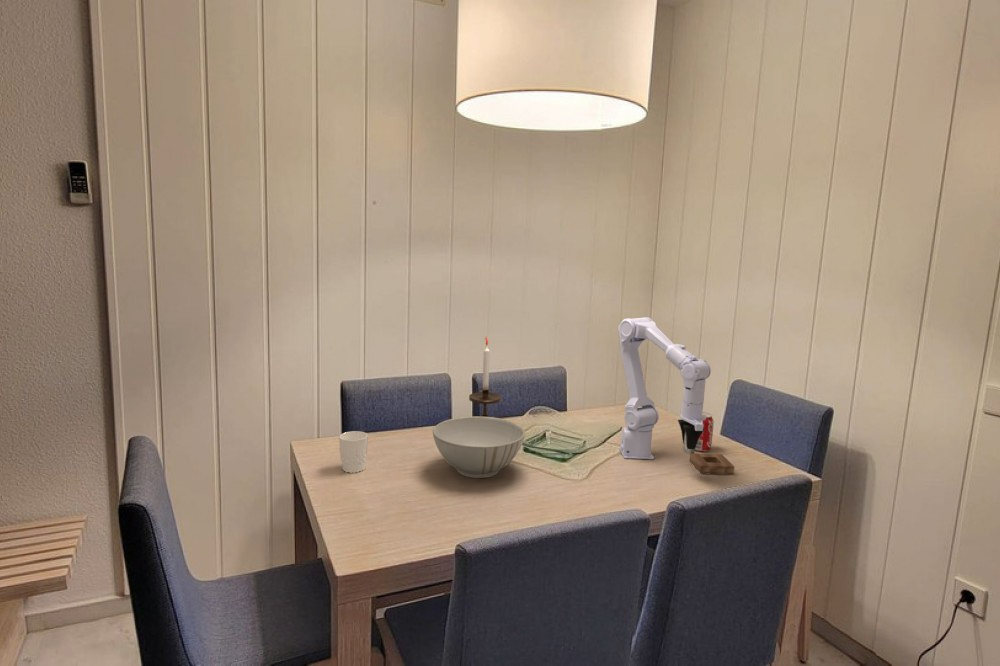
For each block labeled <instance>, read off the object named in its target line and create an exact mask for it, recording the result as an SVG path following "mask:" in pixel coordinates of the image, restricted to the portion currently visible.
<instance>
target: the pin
mask: <svg viewBox="0 0 1000 666" xmlns="http://www.w3.org/2000/svg"><path fill="white" fill-rule="evenodd" d="M682 451H683V453H684V454H687V455H690V454H693V453H695V450H694V449H687V445H686V433H685V438H684V444H683V450H682Z"/></svg>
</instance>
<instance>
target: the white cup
mask: <svg viewBox="0 0 1000 666" xmlns="http://www.w3.org/2000/svg"><path fill="white" fill-rule="evenodd" d="M339 452H340V460H341V470H342V469H343V470H344V471H347V472H357V473H360V472H359V471H361V472H363V471H364V469H365V470H366V466H367V464H366V463H367V456H368V433H367V432H364V431H359V430H358V431H355V430H354V431H346V432H343V433H341V434H340V435H339ZM343 470H342V471H343ZM362 470H363V471H362ZM344 471H343V472H344ZM347 472H346V473H347Z"/></svg>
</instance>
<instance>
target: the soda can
mask: <svg viewBox="0 0 1000 666" xmlns="http://www.w3.org/2000/svg"><path fill="white" fill-rule="evenodd" d="M702 416H705V417H706V420H703V421H702V423H703V427H704V431H703V433H702V434H701V435H700V437H699V439H698V442H697V445H696V447H695V449H694V451H697V452H700V451H706V452H708V451H710V450H711V447H712V443H713V435H714V433H713V432H714V423H715V421H714V418H713V414H711V413H710V412H706V411H703V413H702Z"/></svg>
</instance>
